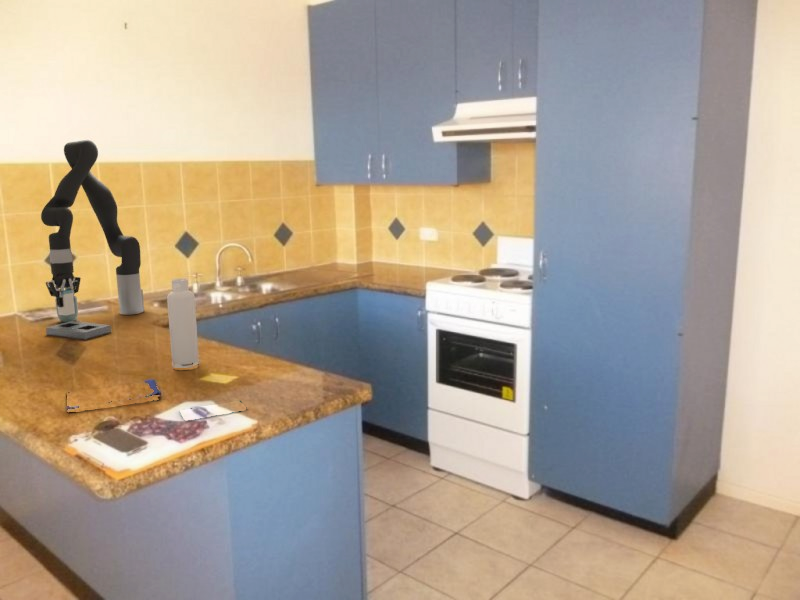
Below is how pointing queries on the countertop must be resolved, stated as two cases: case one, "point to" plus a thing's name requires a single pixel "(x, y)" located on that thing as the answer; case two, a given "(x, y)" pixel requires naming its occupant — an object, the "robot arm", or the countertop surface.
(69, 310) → the plug
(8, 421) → the countertop surface
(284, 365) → the countertop surface
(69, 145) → the robot arm
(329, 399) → the countertop surface
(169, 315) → the bottle
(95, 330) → the panel
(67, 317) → the cup
